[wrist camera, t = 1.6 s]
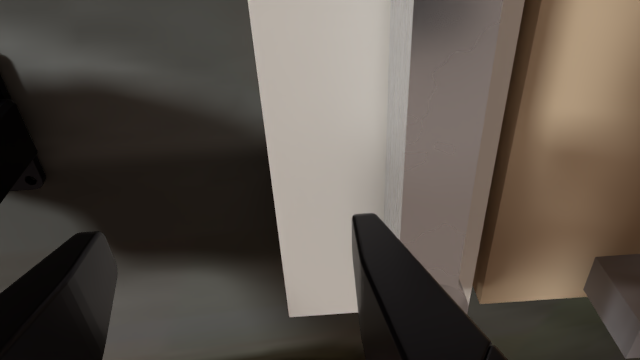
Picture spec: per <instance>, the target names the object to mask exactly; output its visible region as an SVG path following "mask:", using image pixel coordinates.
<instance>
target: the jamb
mask: <svg viewBox="0 0 640 360" xmlns="http://www.w3.org/2000/svg"><path fill="white" fill-rule="evenodd" d="M524 2H525V0H503V6H502V12H501V18H500V25H499V31H498V37H497V43H496V50H495V56H494V62H493V68H492V75H491V81H490V87H489V93H488V100H487V106H486V112H485V118H484V125H483V131H482V137H481V144H480V150H479V156H478V162H477V169H476V175H475V181H474V187H473V194H472V200H471V206H470V212H469V219H468V225H467V231H466V237H465V244H464V250H463V256H462V262H461V269H460V275H459V279H460V282H461V285H462V287H463V290H464V293H465V296H466V299H467V302H468V305H469V301H470V295H471V290H472V284H473V279H474V273H475V268H476V263H477V257H478V252H479V246H480V241H481V235H482V230H483V225H484V219H485V214H486V208H487V203H488V197H489V192H490V187H491V181H492V176H493V170H494V165H495V159H496V154H497V149H498V143H499V138H500V132H501V127H502V121H503V116H504V111H505V105H506V100H507V94H508V89H509V83H510V78H511V73H512V67H513V62H514V56H515V51H516V45H517V40H518V35H519V29H520V24H521V18H522V13H523V7H524ZM248 6H249V14H250V21H251V29H252V37H253V44H254V52H255V59H256V67H257V75H258V82H259V90H260V98H261V105H262V113H263V121H264V128H265V136H266V143H267V151H268V159H269V166H270V174H271V182H272V189H273V197H274V205H275V212H276V220H277V227H278V235H279V243H280V250H281V258H282V266H283V273H284V281H285V288H286V296H287V304H288V311H289V317H300V316H314V315H329V314H343V313H357V312H358V306H357V296H356V287H355V277H354V267H353V257H352V216H353V215H354V214H362V213H375V214H376V215H377V216H378V217H379V218H380V219H381V220H382V221H383V222H384V201H385V170H386V138H387V107H388V76H389V44H390V13H391V0H248Z"/></svg>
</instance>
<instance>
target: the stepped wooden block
mask: <svg viewBox="0 0 640 360" xmlns="http://www.w3.org/2000/svg"><path fill="white" fill-rule="evenodd" d="M472 285H473V287H474V290H475V293H476V295H477V298H478V300H479V303H480V304H488V303H502V302H517V301H531V300H546V299H560V298H575V297H588V298H589V300H590V301H591V303H592V305H593V306H594V308H595V310H596V311H597V313H598V315H599V316H600V318H601V319H602V321H603V323H604V324H605V326H606V328H607V329H608V331H609V333H610V334H611V336H612V338H613V339H614V341H615V342H616V344H617V346H618V347H619V349H620V351H621V352H622V354H623V356H624V357H625V359H628V358H640V0H525V2H524V7H523V13H522V18H521V24H520V29H519V35H518V40H517V45H516V51H515V56H514V62H513V67H512V73H511V78H510V83H509V89H508V94H507V100H506V105H505V111H504V116H503V121H502V127H501V132H500V138H499V143H498V149H497V154H496V159H495V165H494V170H493V176H492V181H491V187H490V192H489V197H488V203H487V208H486V214H485V219H484V225H483V230H482V235H481V241H480V246H479V252H478V257H477V263H476V268H475V273H474V279H473V284H472Z"/></svg>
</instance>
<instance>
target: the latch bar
mask: <svg viewBox="0 0 640 360" xmlns="http://www.w3.org/2000/svg"><path fill="white" fill-rule="evenodd" d="M502 6H503V0H391V13H390V44H389V76H388V107H387V138H386V170H385V201H384V223H385V225H386V226H387V227H388V228H389V229H390V230H391V231H392V232H393V233H394V234H395V236H396V237H397V238H398V239H399V240H400V241H401V242H402V243H403V244H404V246H405V247H406V248H407V249H408V250H409V251H410V252H411V253H412V254H413V255H414V257H415V258H416V259H417V260H418V261H419V262H420V263H421V264H422V265H423V267H424V268H425V269H426V270H427V271H428V272H429V273H430V274H431V275H432V277H433V278H434V279H435V280H436V281H437V282H438V283H439V284H440V285H441V286H442V288H443V289H444V290H445V291H446V292H447V293H448V294H449V295H450V296H451V298H452V299H453V300H454V301H455V302H456V303H457V304H458V305H459V306H460V307H461V309H462V310H463V311H464V312H465V313H466V314H467V313H468V302H467V299H466V296H465V293H464V290H463V287H462V285H461V282H460V279H459V275H460V269H461V262H462V256H463V250H464V244H465V237H466V231H467V225H468V219H469V212H470V206H471V200H472V194H473V187H474V181H475V175H476V169H477V162H478V156H479V150H480V144H481V137H482V131H483V125H484V118H485V112H486V106H487V100H488V93H489V87H490V81H491V75H492V68H493V62H494V56H495V50H496V43H497V37H498V31H499V25H500V18H501V12H502Z"/></svg>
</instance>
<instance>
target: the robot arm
mask: <svg viewBox="0 0 640 360" xmlns="http://www.w3.org/2000/svg"><path fill="white" fill-rule="evenodd" d="M36 154H37V150H36V148H35V145H34V143H33V141H32V139H31V137H30V134H29V132H28V130H27V128H26V125H25V123H24V121H23V119H22V116H21V114H20V112H19V110H18V107H17V105H16V104H15V103H14V102H13V101H12V99H11V97H10V95H9V93H8V91H7V88H6V86H5V84H4V82H3V79H2V77H1V75H0V203H1V202H2V201H3V199H4V198H5V197H6V195H7V194H8V192H9V191H18V190H33V189H38V188H40V187H41V186H42V185H43V183H44V182H45V180H46V175H45V173H44V170H43V168H42V166H41V164H40V162H39V159H38V157H37V155H36ZM29 176H32V177H34V178H35V179H36V180H33V179H32V178H30V177H29ZM352 257H353V267H354V277H355V287H356V296H357V306H358V315H359V325H360V332H361V339H362V343H363V348H364V353H365V357H366V360H508V359H507V358H506V357H505V356H504V355H503V354H502V353H501V352H500V350H499V349H498V348H497V347H496V346H495V345H492V346H491V344H492V343H491V341H490V340H489V338H488V337H487V336H486V335H485V334H484V333H483V332H482V331H481V330H480V329H479V327H478V326H477V325H476V324H475V323H474V322H473V321H472V320H471V319H470V317H469V316H468V315H467V314H466V313H465V312H464V311H463V310H462V309H461V307H460V306H459V305H458V304H457V303H456V302H455V301H454V300H453V299H452V298H451V296H450V295H449V294H448V293H447V292H446V291H445V290H444V289H443V288H442V286H441V285H440V284H439V283H438V282H437V281H436V280H435V279H434V278H433V277H432V275H431V274H430V273H429V272H428V271H427V270H426V269H425V268H424V267H423V265H422V264H421V263H420V262H419V261H418V260H417V259H416V258H415V257H414V255H413V254H412V253H411V252H410V251H409V250H408V249H407V248H406V247H405V246H404V244H403V243H402V242H401V241H400V240H399V239H398V238H397V237H396V236H395V234H394V233H393V232H392V231H391V230H390V229H389V228H388V227H387V226H386V225H385V223H384V222H383V221H382V220H381V219H380V218H379V217H378V216H377V215H376V214H375V213H362V214H354V215H353V216H352ZM116 281H117V265H116V262H115V259H114V257H113V254H112V252H111V249H110V247H109V244H108V242H107V239H106V237H105V235H104V234H103V233H101V232H99V231H94V232H80V233H77V234H75V235H74V236H72V237H71V238H70V239H68V240H67V241H66V242H65V243H63V244H62V245H61V246H60V247H58V248H57V249H56V250H55V251H53V252H52V253H51V254H50V255H48V256H47V257H46V258H44V259H43V260H42V261H41V262H39V263H38V264H37V265H36V266H34V267H33V268H32V269H31V270H29V271H28V272H27V273H26V274H24V275H23V276H22V277H20V278H19V279H18V280H17V281H15V282H14V283H13V284H12V285H10V286H9V287H8V288H7V289H5V290H4V291H3V292H2V293H0V360H102V358H103V353H104V349H105V344H106V338H107V333H108V327H109V321H110V315H111V310H112V304H113V298H114V293H115V287H116Z"/></svg>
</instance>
